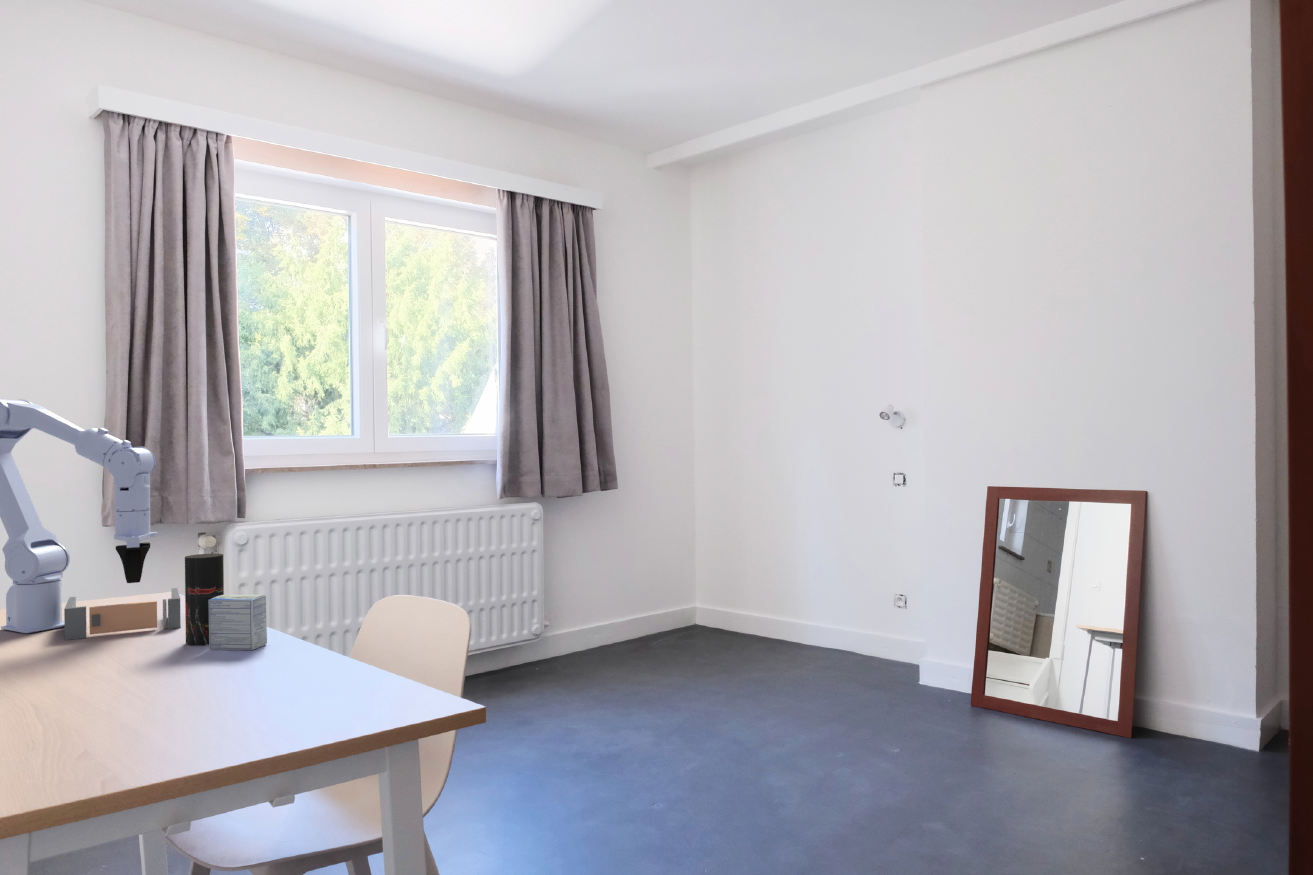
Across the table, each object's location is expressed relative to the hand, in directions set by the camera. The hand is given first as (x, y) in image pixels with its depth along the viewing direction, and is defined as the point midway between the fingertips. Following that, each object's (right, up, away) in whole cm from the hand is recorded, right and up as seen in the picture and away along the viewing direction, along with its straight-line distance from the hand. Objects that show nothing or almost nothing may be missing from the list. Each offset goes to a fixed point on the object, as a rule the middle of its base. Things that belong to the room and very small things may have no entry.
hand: (133, 582), depth 164 cm
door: (+2, -8, -6) cm, 10 cm away
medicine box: (+29, -8, -18) cm, 35 cm away
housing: (-1, -8, 0) cm, 9 cm away
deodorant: (+21, -8, -14) cm, 26 cm away
